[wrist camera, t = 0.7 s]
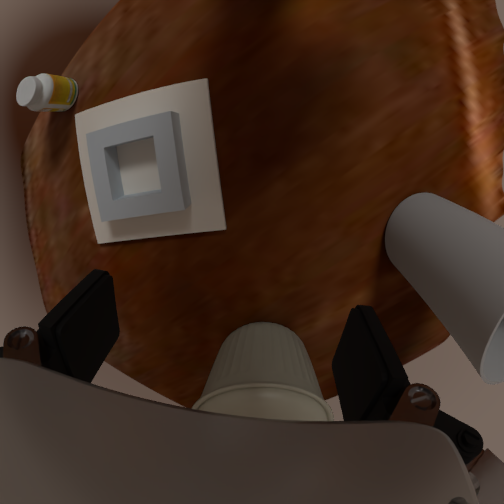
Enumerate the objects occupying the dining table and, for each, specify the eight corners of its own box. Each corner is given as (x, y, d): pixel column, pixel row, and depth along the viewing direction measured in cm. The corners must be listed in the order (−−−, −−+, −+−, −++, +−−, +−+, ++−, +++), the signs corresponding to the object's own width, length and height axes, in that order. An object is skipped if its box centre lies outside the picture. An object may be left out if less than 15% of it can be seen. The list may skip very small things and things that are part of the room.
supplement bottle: (60, 118, 34) (19, 120, 25) (49, 93, 32) (9, 91, 23) (84, 96, 33) (43, 91, 24) (72, 71, 31) (32, 63, 22)
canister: (199, 370, 50) (175, 469, 30) (223, 288, 43) (194, 401, 23) (293, 391, 51) (300, 488, 31) (335, 318, 44) (369, 427, 25)
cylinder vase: (446, 182, 35) (576, 242, 12) (453, 256, 39) (551, 347, 16) (375, 204, 37) (492, 297, 14) (389, 281, 41) (469, 403, 18)
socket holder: (77, 114, 34) (60, 114, 30) (207, 79, 32) (200, 72, 28) (100, 241, 41) (86, 252, 37) (226, 227, 39) (222, 238, 35)
